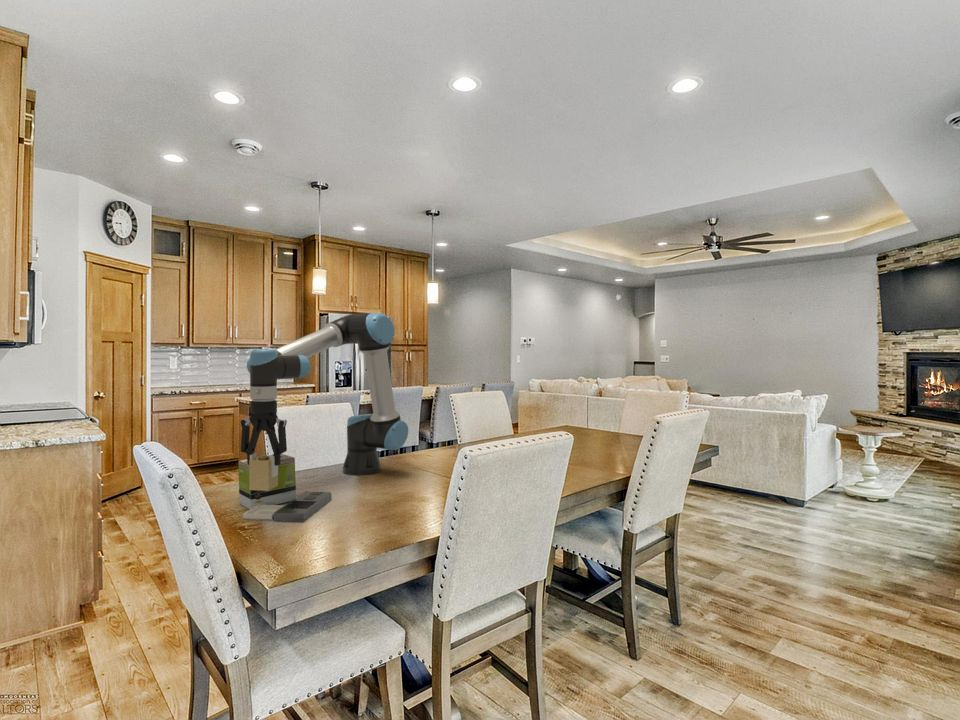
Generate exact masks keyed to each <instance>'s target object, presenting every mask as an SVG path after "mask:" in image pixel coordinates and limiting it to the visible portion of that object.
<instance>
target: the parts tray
mask: <svg viewBox="0 0 960 720" xmlns="http://www.w3.org/2000/svg"><path fill="white" fill-rule="evenodd" d="M283 506H285V504H284V505H283V504H282V505H279V504H276V505H257V506H255V507H253V508H252V509H247V511H245V512H243V513H242V520H251V521H274V512H276V511H277V510H279V509H280V508H282V507H283Z"/></svg>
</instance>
